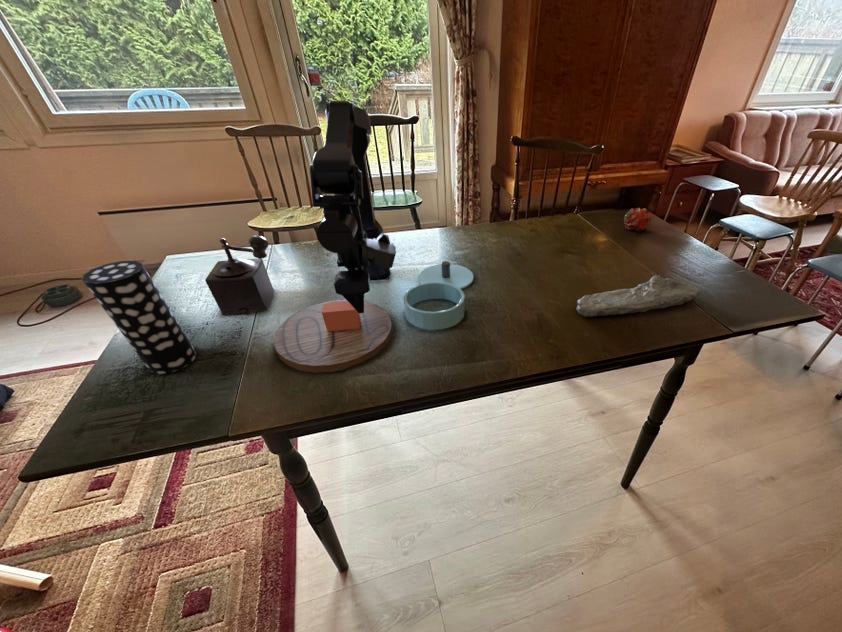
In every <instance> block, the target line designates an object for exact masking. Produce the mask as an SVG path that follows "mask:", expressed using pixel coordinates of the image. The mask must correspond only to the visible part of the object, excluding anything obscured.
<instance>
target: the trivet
mask: <svg viewBox="0 0 842 632" xmlns="http://www.w3.org/2000/svg"><path fill="white" fill-rule="evenodd" d="M342 301H347V300H346V299H336V300H329V301H328V300H327V301H324V302H320V303H316V304H313V305H310V306H307V307H305V308H303V309H300V310H298V311H297V312H295V313H294V314H291V316H288V317H287V318H286V319H285V320H284V321H283V322H282V323H281V324H280V325H278V327H277V329H276V331H275V332H274V335H273V346H274V348H275V351H276V353H277V355H278V358H279V359H280V360H281V362H283V364H286V366H288V367H290V368H293V369H294V370H297V371H300V372H308V373H315V374H317V373H318V374H319V373H335V372H339V371H345V370H347V368H350V367H353V366H355V365H358V364H361V363H363V362H365V361H367V360H368V359H370V358H372V357H374V356H376V355H377V354H378V353H379V352H380V351H382V350H383V348H385V347H386V346H387V344H388V342H389V341H390V339H391V338H392V333H393V324H392V320H391V317H390V315H389V313H388V312H387V311H386V310H385V309H384V308H382V307H381V306H378V305H377V304H375V303H372V302H369V301H366V300H364V313H359V314H360V318H361V319H360V329H350V330H340V331H329V332H327V329H326V326H325V322H324V319H323V316H322V309H323V304H324V303H330V302H342Z"/></svg>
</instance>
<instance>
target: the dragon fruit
mask: <svg viewBox="0 0 842 632" xmlns="http://www.w3.org/2000/svg"><path fill="white" fill-rule="evenodd" d="M651 217H652V213H651V212H650V211H648V208H646V207H644V208H642V209H641V208H640V207H637V208H631V209H629V210H628V211H627V212H626V213H625V214H624V216H623V221H622V224H623V225H624V227H625V228H626V229H628V230H629V231H633V230H635V229H638V230H635V231H636V232H640V231H644V230H646V228H647V227H648V226H649V225H650V224H651V221H652V218H651ZM630 227H631V228H634V229H631V228H630ZM640 229H641V230H640ZM639 230H640V231H639Z"/></svg>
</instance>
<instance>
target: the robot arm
mask: <svg viewBox="0 0 842 632" xmlns="http://www.w3.org/2000/svg"><path fill="white" fill-rule="evenodd" d="M325 104H326V106H325V107H326V108H325V119H326V129H325V137H324V145H323V146H322V147H320V148H318V149H317V150H316V151H315V152H314V155H313V157H312V158H313V159H312V162H311V163H312V164H310V166H309V178H310V188H311V200H312V202H311V203H312V207H313V208H322V210H323V217H322V219H321V222H320V223H319V224H318V227H317V230H316V238H317V240H318V243H320V244H319V245H321V247H322V248H323V249H325V250H326V251H328V252H331V253H334V254H336V256H337V258H336V265H337V267H338V268H341V267H342V268H343V267H344V268H345V269H346V270H339V271H338V272H337V273H336V275H335V277H334V281H333V287H334V291H335V293H336V294H337V295H340V296H342V297H343V298H344V300H347V301H348V302H349V303H350V304H351V305H352V306H353V307H354V309H355V310H356V311H357V312H358V313H364V301H365V295H366V294H367V293H369V292H370V291H371V282H372V281H373V282H374V281H385V280H389V279H390V276H391V269H392V268H393V266H394V262H395V259H396V255H397V248H396V246H395V245H394V243H393V242H391V241H390V237H389V235H388V234H386V233H385V232H384V227H383V226H382V225H381V224H380V223H379V221H378V220H377V219H376V215H375V210H374V203H373V195H372V189H371V183H370V177H369V169H368V163H367V158H366V154H367V151H368V148H369V146H370V144H371V137H370V136H371V135H372V133H373V132H372V131H373V130H372V124H371V123H372V122H371V118H370V115H369V113H368V111H367V110H366V109H363V108H361V107H359V106H357V105H355V103H354V102H351V101H350V100H329V101H327V102H326V103H325ZM320 193H321V195H320Z"/></svg>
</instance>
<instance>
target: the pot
mask: <svg viewBox="0 0 842 632" xmlns="http://www.w3.org/2000/svg"><path fill="white" fill-rule="evenodd" d="M402 298H403V307H404V314H405V319H406V320H407V321H408V323H409V324H411V325H412V326H415V327H417V328H419V329H423V330H427V331H428V330H429V331H438V330H445V329H448V328H451V327H453V326H455V325H458V324H459V323H460V322H461V321H462V320H463V319H464V317H465V313H466V297H465V292H464V291H463V289H460V288H459V287H457V286H455V285H452V284H449V283H445V282H427V283H422V284H420V283H419V284H416V285H413V286H411V287H410V288H409V289H407V291H405V292H404V295H403V297H402ZM434 299H440V300H446V301H450V302H453V303H455V305H454V306H452V307H451V308H447V309H444V310H438V311H437V310H436V311H427V310H422V309H418V308H416V307H414V306H415V305H416V304H418V303H420V302H423V301H426V300H434Z"/></svg>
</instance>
